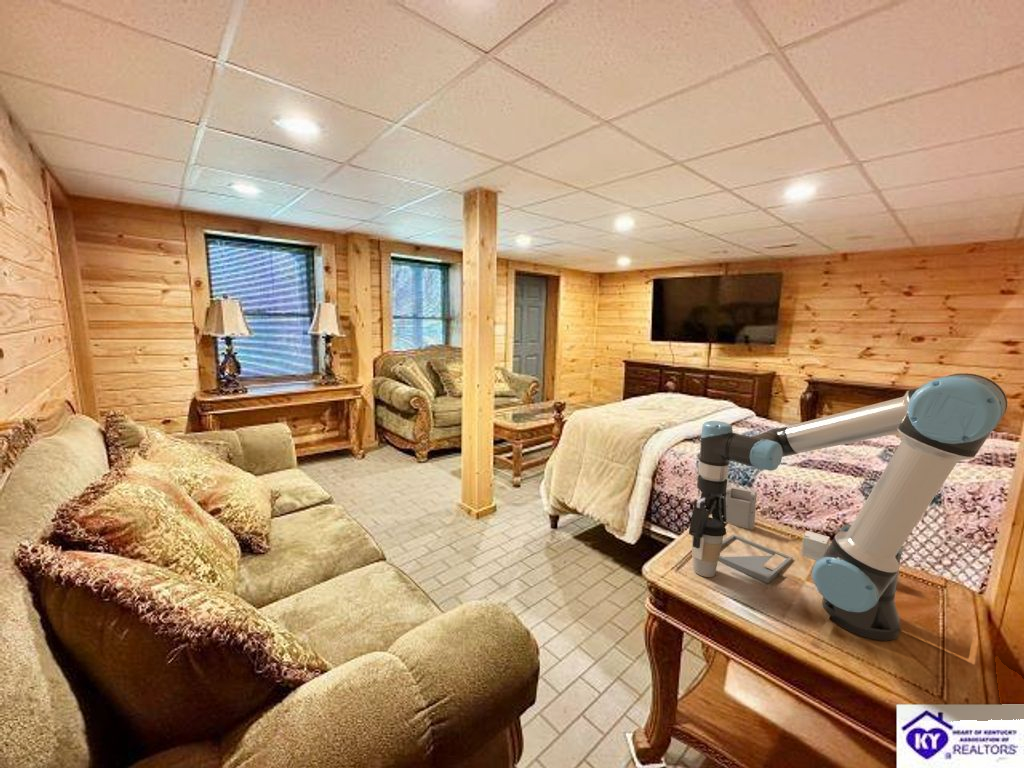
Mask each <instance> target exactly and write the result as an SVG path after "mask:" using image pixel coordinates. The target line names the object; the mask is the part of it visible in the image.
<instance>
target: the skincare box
mask: <svg viewBox="0 0 1024 768" xmlns="http://www.w3.org/2000/svg"><path fill="white" fill-rule="evenodd" d="M830 540H831V537H830V536H828V535H824V534H821V533H818V532H817V533H816V532H814V531H810V530H806V532H805V533H804V535H803V537H802V541H801V543H802V544H801V552H800V553H801V556H803V557H805V558H809V559H811V560H814V561H818V560H819V559H821V558H822V557H823V555H824V554H825V552H826V550H827V549H828V547H829V545H830V543H831V542H830Z"/></svg>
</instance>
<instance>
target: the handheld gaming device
mask: <svg viewBox="0 0 1024 768" xmlns="http://www.w3.org/2000/svg"><path fill="white" fill-rule="evenodd" d="M726 492H727V494H726V517H727V520H726V522H725V523H726V524H727V523H728V524H729V525H732V526H736V527H738V528H741V529H742V528H743V529H746V530H750V531H751V530H752V531H754V528H755V522H756V521H755V520H756V510H757V509H756V506H757V504H756V503H757V493H758V492H757V490H752V489H747V488H743V487H738V486H733V485H727V491H726Z"/></svg>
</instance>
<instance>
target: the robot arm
mask: <svg viewBox="0 0 1024 768" xmlns="http://www.w3.org/2000/svg"><path fill="white" fill-rule="evenodd" d="M1007 408H1008V399H1007V395H1006V393H1005V391H1004V390H1003V388H1002V387H1001V386H1000V384H998V383H996V382H995V381H993V380H992V379H990V378H988V377H985V376H983V375H979V374H975V373H967V372H966V373H954V374H949V375H946V376H942V377H937V378H935V379H931V380H930V381H927V382H925V383H924V384H923V385H921V386H920V387H917V388H914V389H910V390H906V392H905V393H904V395H903V396H901V397H897V398H893V399H889V400H886V401H881V402H878V403H874V404H870V405H866V406H861V407H858V408H853V409H850V410H845V411H841V412H839V413H833V414H831V415H830V414H829V415H827V416H823V417H818V418H814V419H810V420H808V421H802V422H800V423H799V422H798V423H795V424H791V425H788V426H783V427H779V428H777V427H776V428H772V429H769V430H767V431H765V432H761V433H759V434H755V435H752V436H750V435H745V434H739V433H736V432H733V431H734V430H733V426H732V425H731V424H730V423H728V422H724V421H719V420H718V421H717V420H711V421H710V420H709V421H706V422H704V423H703V424H702V428H701V435H700V447H699V448H700V450H699V461H698V462H697V465H698V470H697V471H698V475H697V482H696V486H697V487H696V488H697V489H698V490H699V491H700V493H701V494H700V498H699V499H694V500H693V501H694V502H693V512H692V515H691V516H692V517H691V521H690V524H689V530H688V535H690V536H691V537H692V536H693V546H692V545H691V556H692V558H693V557H695V558H698V559H700V560H702V556H703V545H704V537H703V533H704V530H705V527H706V523H707V520H708V517H710V516H711V518H714V519H717V520H719V521H721V522H722V523H723V524H724V527H725V528H726V526H727V522H726V520H727V517H726V494H727V492H726V491H727V487H728V478H729V470H730V469H729V467H730V462H733V463H737V464H741V465H745V466H749V467H751V468H755V469H758V470H766V471H769V472H772V471H775V470H777V469H778V467H779V466H780V464H781V462H782V459H783V458H784V457H788V456H792V455H797V454H801V453H806V452H807V453H808V452H812V451H817V450H821V449H826V448H831V447H832V448H833V447H836V446H842V445H847V444H851V443H856V442H861V441H866V440H871V439H876V438H882V437H888V436H891V435H896V434H897V435H898V434H899V435H900V437H901V441H900V443H899V444H898V447H897V448H896V450H895V451H894V453H893V455H892V456H891V458H890V460H889V461H888V463H887V464H886V467H885V469H884V470H883V472H882V473H881V475H880V477H879V478H878V480H877V482H876V483H875V485H874V487H873V488H872V490H871V492H870V493H869V496H868V497H867V499H866V500H865V502H864V504H863V505H862V506H861V508H860V510H859V512H858V514H857V516H855V519H853V520H854V521H853V522H852V524H843V525H842V526H841V527H840V531H839V532H837V533H836V534H835V535H834V537H833V539H832V540H831V542H830V543H829V547H828V549H827V550H826V552H825V554H824V555H823V557H822V558H821V559H819V560H818V561H816V560H815V561H816V562H815V563H814V565H813V567H812V571H811V577H812V581H813V584H814V585H815V588H816V590H817V591H818V593H820V595H821V596H822V601H821V604H822V608H823V610H825V612H826V613H827V614H828V615H829V618H828V619H829V620H831V622H833V623H834V624H836V625H838V626H839V627H841V628H842V629H845V630H846V631H848V632H851V633H853V634H855V635H858V636H861V637H863V638H867V639H872V640H876V641H877V640H878V641H892V640H896V639H897V638H899V636H900V633H901V632H900V631H901V621H900V617H899V616H900V615H899V613H898V610H897V605H896V601H895V597H896V591H897V584H898V577H899V574H900V565H901V559H902V555H903V554H904V553H903V545H904V544H905V543H906V540H907V539H908V538H909V537H910V535H911V533H912V532H913V530H914V529H915V527H916V525H917V524H918V523H919V521H920V520H921V518H922V517H923V515H924V513H926V511H927V509H928V508H929V506H930V504H931V503H932V501H933V500H934V498H935V497H936V495H937V494H938V492H939V491H940V489H941V488H942V486H943V485H944V483H946V480H947V479H948V477H949V476H950V475H951V473H952V472H953V470H954V468H955V466H956V465H957V463H959V462H960V461H966V460H970V459H974V458H975V457H976V456H977V454H978V452H980V450H981V448H982V447H983V445H984V444H985V443H986V441H987V439H988V438H989V436H990V435H991V433H992V432H993V431H994V430H995V429H996V428H997V427H998V426H999V424H1000V422H1001V420H1002V418H1003V416H1004V415H1005V414H1006V412H1007ZM898 573H899V574H898Z"/></svg>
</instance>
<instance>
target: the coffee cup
mask: <svg viewBox="0 0 1024 768" xmlns="http://www.w3.org/2000/svg"><path fill="white" fill-rule="evenodd" d="M726 534H727V528H726V526H725V527H724V524H723V523H722V522H721V521H719V520H717V519H714V518H712V516H711V517H710V516H709V517H708V520H707V523H706V527H705V530H704V533H703V537H704V545H703V556H702V560H700V559H698V558H695V557H693V556H692V570H693V572H694V573H695V574H697V575H699V576H701V577H705V578H713V577H714V576H715V575H716V571H717V566H718V563H719V561H718V560H719V556H721V551H722V547H723V546H722V543H723V541H724V539H723V538H724V536H725V535H726ZM692 546H693V536H692V535H691V547H692Z"/></svg>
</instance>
